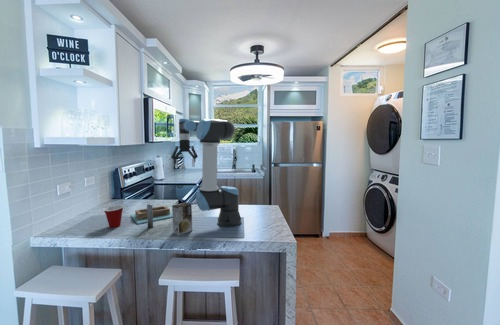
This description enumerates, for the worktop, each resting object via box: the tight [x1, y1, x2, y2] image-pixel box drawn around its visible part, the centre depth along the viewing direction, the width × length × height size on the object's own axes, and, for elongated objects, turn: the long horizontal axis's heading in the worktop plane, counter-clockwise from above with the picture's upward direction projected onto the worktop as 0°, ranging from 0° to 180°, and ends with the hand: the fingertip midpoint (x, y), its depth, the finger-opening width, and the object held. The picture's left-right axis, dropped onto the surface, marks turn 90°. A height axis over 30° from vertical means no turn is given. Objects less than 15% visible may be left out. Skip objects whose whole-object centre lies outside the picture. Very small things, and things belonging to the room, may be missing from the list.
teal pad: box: [130, 211, 173, 225], centre depth 163 cm, size 20×24×1 cm
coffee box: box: [171, 201, 193, 236], centre depth 135 cm, size 9×6×16 cm
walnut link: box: [134, 205, 171, 220], centre depth 163 cm, size 10×20×4 cm, turn 127°
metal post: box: [146, 203, 154, 229], centre depth 142 cm, size 3×3×14 cm
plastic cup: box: [102, 204, 124, 229], centre depth 144 cm, size 11×11×12 cm
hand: (185, 167), depth 180 cm, fingers open, 13 cm apart
